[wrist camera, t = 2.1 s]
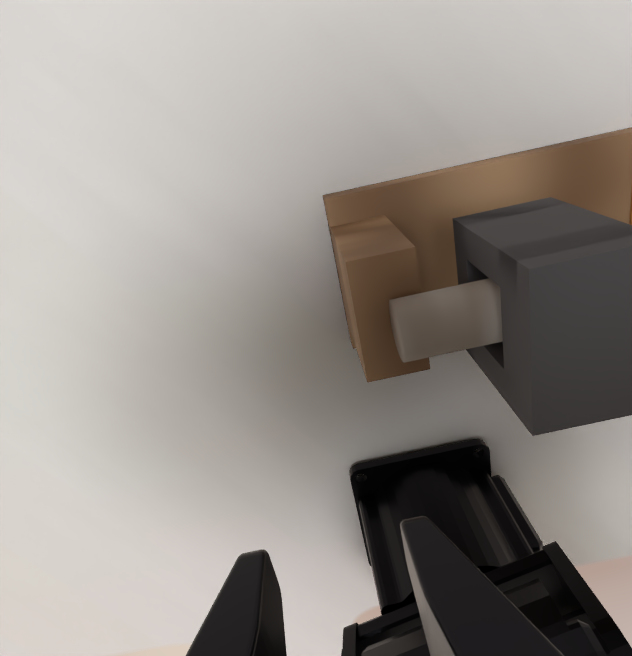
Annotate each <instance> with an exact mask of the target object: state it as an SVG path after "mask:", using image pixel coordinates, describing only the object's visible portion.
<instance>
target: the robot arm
mask: <svg viewBox="0 0 632 656" xmlns="http://www.w3.org/2000/svg"><path fill="white" fill-rule="evenodd" d="M477 449H480V450H479V451H477V452H474V451H475V450H477ZM358 474H364V475H363V476H357V475H358ZM349 475H350V480H351V484H352V489H353V493H354V498H355V502H356V507H357V511H358V516H359V520H360V525H361V529H362V534H363V538H364V543H365V547H366V552H367V556H368V561H369V564H370V566H372V571H373V576H374V580H375V585H376V590H377V595H378V600H379V604H380V609H381V614H382V615H381V616H379V617H376V618H374V619H371V620H369V621H367V622H364V623H362V624H359V625H358V623H355V624H352V625H350V626H347V627H345V628H344V630H343V649H342V654H341V656H632V648H631V647H630V645H629V643H628V642H627V640H626V639H625V637H624V636H623V634H622V633H621V631H620V629H619V628H618V627H617V625H616V624H615V622H614V621H613V619H612V618H611V617H610V615H609V614H608V613H607V611H606V610H605V608H604V607H603V606H602V604H601V603H600V601H599V600H598V599H597V597H596V596H595V595H594V593H593V592H592V590H591V589H590V588H589V587H588V585H587V583H586V582H585V581H584V580H583V578H582V577H581V575H580V574H579V573H578V571H577V570H576V568H575V567H574V566H573V564H572V563H571V562H570V560H569V559H568V557H567V556H566V555H565V553H564V552H563V551H562V549H561V548H560V546H559V545H558V544H557V542H556V541H555V542H553V543H550V544H548V545H545V546H543V544H542V541H541V540H540V538H539V536H538V535H537V533H536V531H535V530H534V528H533V526H532V525H531V523H530V521H529V520H528V518H527V516H526V515H525V513H524V512H523V510H522V508H521V507H520V505H519V503H518V502H517V500H516V498H515V497H514V495H513V493H512V492H511V490H510V488H509V487H508V485H507V483H506V482H505V480H504V479H503V478H502V477H500V476H499V475H497V476H492V477H491V464H490V451H489V448H488V446H487V445H486V443H485V442H484V441H483V440H481V439H473V440H469V441H464V442H459V443H454V444H450V445H445V446H440V447H436V448H431V449H426V450H421V451H417V452H412V453H407V454H402V455H398V456H393V457H388V458H383V459H379V460H374V461H369V462H365V463H360V464H356V465H354V466H353V467H352V468H351V469H350V471H349ZM186 656H286V644H285V632H284V620H283V608H282V598H281V591H280V587H279V583H278V580H277V577H276V574H275V571H274V568H273V565H272V562H271V559H270V557H269V554H268V553H267V551H266V550H257V551H252V552H247V553H243V554H241V555H240V556H239V557H238V559H237V560H236V562H235V564H234V566H233V568H232V570H231V572H230V573H229V575H228V577H227V579H226V581H225V583H224V585H223V587H222V589H221V590H220V592H219V594H218V596H217V598H216V600H215V602H214V604H213V605H212V607H211V609H210V611H209V613H208V615H207V617H206V619H205V620H204V622H203V624H202V626H201V628H200V630H199V632H198V634H197V635H196V637H195V639H194V641H193V643H192V645H191V647H190V649H189V651H188V652H187V655H186Z"/></svg>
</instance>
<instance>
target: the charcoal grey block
mask: <svg viewBox="0 0 632 656" xmlns="http://www.w3.org/2000/svg"><path fill="white" fill-rule="evenodd" d="M452 219H453V230H454V242H455V253H456V265H457V276H458V285H460V284H465V283H470V282H474V281H479V280H483V279H488V278H490V279H491V280H492V281H493V282H494V283H496V284H497V285H498V286H499V287H500V296H501V316H502V337H503V342H498V343H493V344H489V345H484V346H479V347H475V348H470V349H466V350H467V351H468V353H469V354H470V355H471V356H472V358H473V359H474V360H475V362H476V363H477V364H478V366H479V367H480V368H481V369H482V371H483V372H484V373H485V375H486V376H487V377H488V378H489V380H490V381H491V382H492V384H493V385H494V386H495V388H496V389H497V390H498V391H499V393H500V394H501V395H502V397H503V398H504V399H505V401H506V402H507V403H508V404H509V406H510V407H511V408H512V410H513V411H514V412H515V414H516V415H517V416H518V417H519V419H520V420H521V421H522V423H523V424H524V425H525V426H526V428H527V429H528V430H529V432H530V433H531V434H532V436H534V435H539V434H544V433H549V432H553V431H558V430H563V429H567V428H572V427H577V426H582V425H586V424H591V423H596V422H601V421H605V420H610V419H615V418H620V417H624V416H629V415H632V225H630V224H627V223H624V222H621V221H618V220H615V219H612V218H610V217H607V216H604V215H601V214H598V213H595V212H592V211H589V210H587V209H584V208H581V207H578V206H575V205H572V204H569V203H566V202H563V201H561V200H558V199H555V198H552V197H549V198H544V199H539V200H535V201H530V202H526V203H521V204H517V205H512V206H507V207H503V208H498V209H494V210H489V211H484V212H480V213H475V214H471V215H466V216H462V217H457V218H452Z"/></svg>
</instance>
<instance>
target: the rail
mask: <svg viewBox="0 0 632 656" xmlns="http://www.w3.org/2000/svg"><path fill="white" fill-rule="evenodd" d="M549 197H552V198H555V199H558V200H561V201H563V202H566V203H569V204H572V205H575V206H578V207H581V208H584V209H587V210H589V211H592V212H595V213H598V214H601V215H604V216H607V217H610V218H612V219H615V220H618V221H621V222H624V223H627V224H630V225H632V128H627V129H623V130H618V131H614V132H609V133H604V134H600V135H595V136H591V137H586V138H582V139H577V140H573V141H568V142H563V143H559V144H554V145H550V146H545V147H541V148H536V149H532V150H527V151H523V152H518V153H513V154H509V155H504V156H500V157H495V158H491V159H486V160H482V161H477V162H472V163H468V164H463V165H459V166H454V167H450V168H445V169H441V170H436V171H431V172H427V173H422V174H418V175H413V176H409V177H404V178H400V179H395V180H391V181H386V182H381V183H377V184H372V185H368V186H363V187H359V188H354V189H350V190H345V191H340V192H336V193H331V194H327V195H323V200H324V205H325V210H326V215H327V220H328V226H329V231H330V236H331V241H332V246H333V252H334V257H335V262H336V267H337V272H338V277H339V283H340V288H341V293H342V298H343V303H344V309H345V314H346V319H347V324H348V329H349V335H350V340H351V343H352V346H353V349H354V348H356V349H357V352H358V355H359V358H360V361H361V364H362V367H363V370H364V373H365V376H366V379H367V382H372V381H376V380H381V379H386V378H390V377H395V376H400V375H404V374H409V373H414V372H418V371H423V370H428V369H430V364H429V357H433V356H437V355H442V354H447V353H451V352H456V351H461V350H465V349H470V348H475V347H479V346H484V345H489V344H493V343H498V342H503V337H502V316H501V296H500V287H499V286H498V285H497V284H496V283H494V282H493V281H492V280H491V279H490V278H488V279H483V280H479V281H474V282H470V283H465V284H460V285H458V276H457V265H456V253H455V242H454V230H453V219H452V218H457V217H462V216H466V215H471V214H475V213H480V212H484V211H489V210H494V209H498V208H503V207H507V206H512V205H517V204H521V203H526V202H530V201H535V200H539V199H544V198H549Z"/></svg>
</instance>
